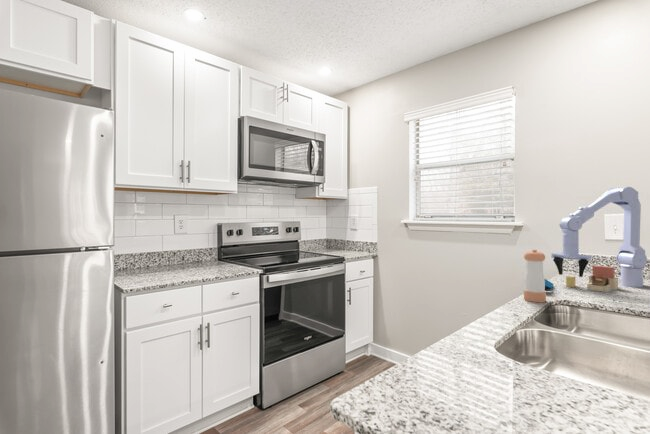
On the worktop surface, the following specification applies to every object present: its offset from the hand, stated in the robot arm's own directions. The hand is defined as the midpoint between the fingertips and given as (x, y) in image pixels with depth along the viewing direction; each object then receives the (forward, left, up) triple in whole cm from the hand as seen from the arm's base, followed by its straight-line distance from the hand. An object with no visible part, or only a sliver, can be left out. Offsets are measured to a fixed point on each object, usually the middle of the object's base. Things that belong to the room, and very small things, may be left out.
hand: (570, 275), depth 157 cm
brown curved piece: (-4, +10, -5) cm, 12 cm away
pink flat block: (-6, +10, -1) cm, 12 cm away
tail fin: (0, 0, -5) cm, 5 cm away
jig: (-4, +10, -5) cm, 12 cm away
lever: (+17, -6, -6) cm, 19 cm away
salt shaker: (+36, 0, -6) cm, 36 cm away
